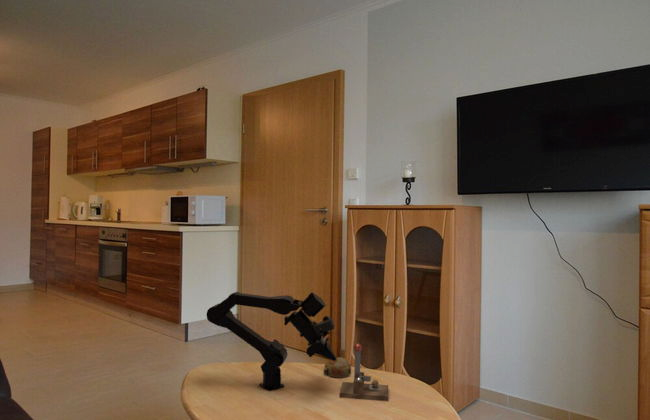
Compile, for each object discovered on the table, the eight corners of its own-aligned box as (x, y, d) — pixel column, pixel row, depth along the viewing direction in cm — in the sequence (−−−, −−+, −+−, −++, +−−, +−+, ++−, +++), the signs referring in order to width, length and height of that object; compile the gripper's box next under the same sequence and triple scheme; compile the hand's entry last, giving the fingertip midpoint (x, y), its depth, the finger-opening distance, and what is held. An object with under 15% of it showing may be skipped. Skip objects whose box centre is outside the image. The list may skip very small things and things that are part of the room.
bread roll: (343, 389, 168) (353, 370, 167) (319, 375, 170) (328, 356, 169) (347, 379, 178) (356, 361, 177) (324, 366, 179) (333, 348, 179)
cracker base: (339, 397, 151) (339, 380, 151) (342, 386, 161) (342, 370, 161) (388, 401, 149) (388, 384, 149) (388, 389, 159) (388, 373, 159)
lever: (352, 385, 153) (353, 345, 153) (353, 379, 159) (354, 340, 159) (370, 387, 152) (371, 346, 152) (370, 380, 158) (371, 341, 158)
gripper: (317, 316, 148) (350, 352, 147) (325, 304, 167) (354, 337, 165) (292, 338, 149) (325, 375, 148) (303, 325, 168) (332, 357, 166)
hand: (335, 359), depth 157 cm, fingers closed
